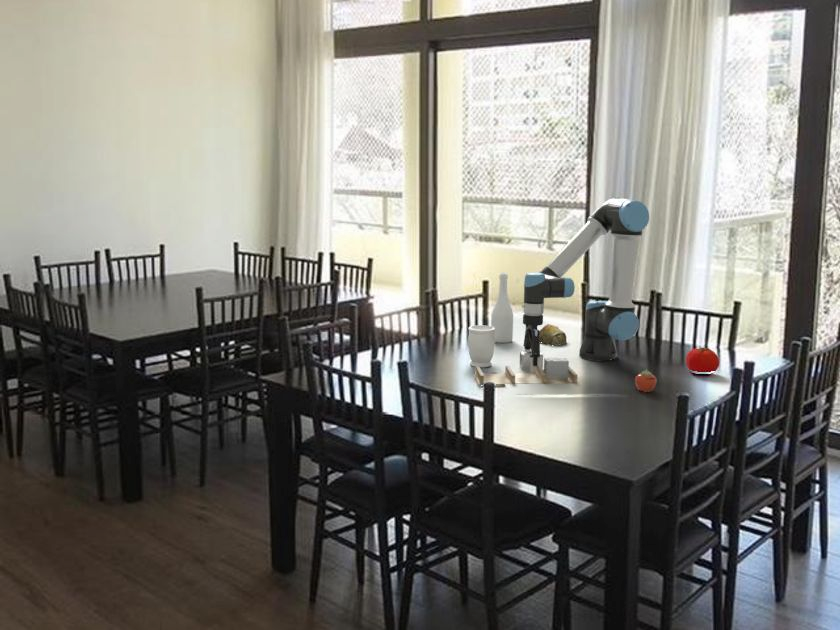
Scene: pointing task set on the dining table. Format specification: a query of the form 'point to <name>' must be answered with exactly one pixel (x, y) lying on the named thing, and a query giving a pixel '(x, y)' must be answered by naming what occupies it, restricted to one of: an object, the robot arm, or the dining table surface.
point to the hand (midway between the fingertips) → (530, 370)
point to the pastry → (552, 335)
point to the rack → (521, 377)
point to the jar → (481, 345)
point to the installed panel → (556, 368)
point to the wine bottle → (502, 314)
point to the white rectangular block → (529, 360)
